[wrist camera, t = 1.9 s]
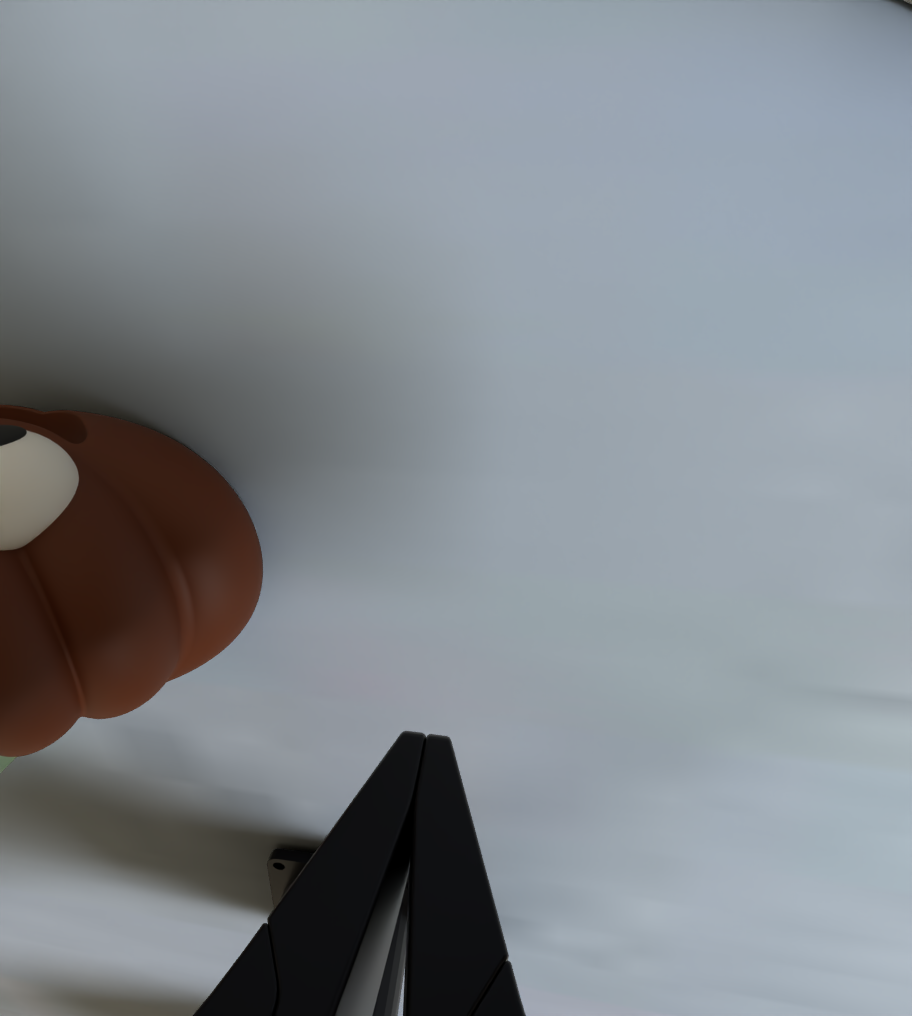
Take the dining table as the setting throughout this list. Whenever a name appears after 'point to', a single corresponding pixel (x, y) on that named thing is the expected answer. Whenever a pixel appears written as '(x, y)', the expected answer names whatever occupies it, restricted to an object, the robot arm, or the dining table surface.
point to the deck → (5, 762)
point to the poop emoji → (109, 569)
